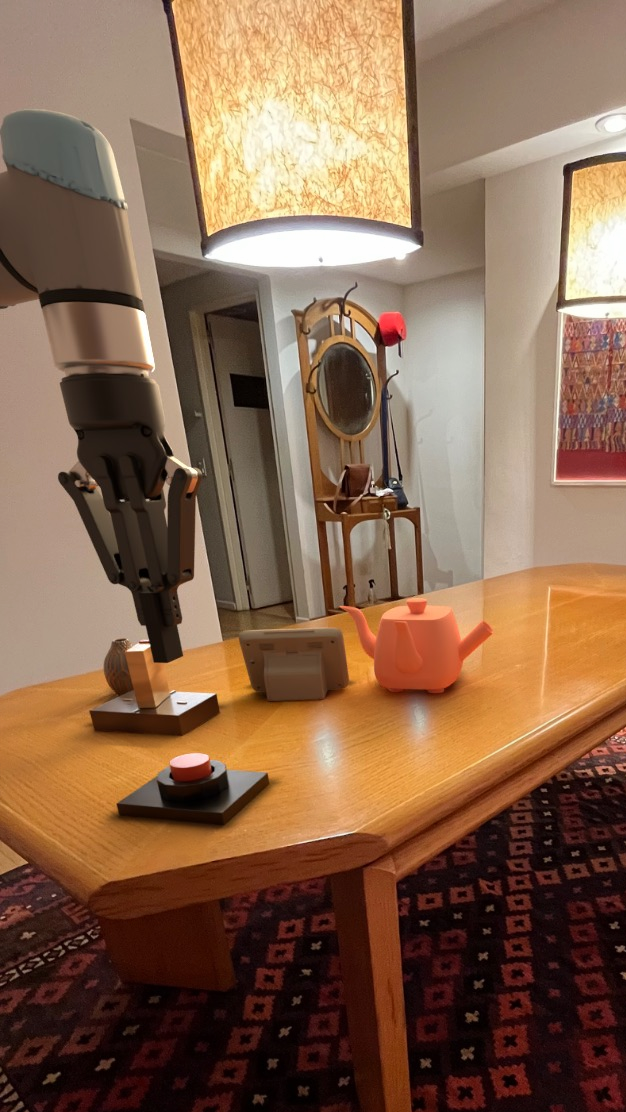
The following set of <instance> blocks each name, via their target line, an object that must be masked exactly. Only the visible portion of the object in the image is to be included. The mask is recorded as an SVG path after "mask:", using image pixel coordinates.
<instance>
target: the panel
mask: <svg viewBox="0 0 626 1112" xmlns="http://www.w3.org/2000/svg"><path fill="white" fill-rule="evenodd" d="M169 691H170V690H169ZM88 712H89V715H90V718H91V722H92V726H93V730H94V731H95V732H97V731H98V732H114V733H128V734H129V733H130V734H147V735H149V734H150V735H162V736H163V735H164V736H177V737H178V736H180V737H184V736H185V735H187V734H188V733H190V732H192V731H193V730H195V729H197V728H198V727H200V726H201V725H202V724H204V723H206V722H208V721H209V720H211V719H212V718H214V717H215V716H218V714H220V713H221V709H220V705H219V698H218V694H217V693H213V692H192V691H177V690H176V689H173V690H171V691H170V695H169V696H168V697H167V698H166V699H165V700H164V701H162V702H161V703H160V704H159V705H158V706H157V707H156V708H138V705H137V701H136V697H135V693H134V690H132V691H130V692H128V693H126V694H123V695H119V696H117V697H115V698H113V699H111V700H108V701H106V702H104V703H102V704H100V705H98V706H96V707H94V708H92V709H89V710H88Z"/></svg>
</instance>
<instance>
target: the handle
mask: <svg viewBox="0 0 626 1112" xmlns="http://www.w3.org/2000/svg"><path fill="white" fill-rule="evenodd" d="M125 655H126V659H127V664H128V668H129V672H130V676H131V680H132V684H133V689H134V693H135V697H136V701H137V705H138V708H156V707H157V706H158V705H159V704H160V703H161V702H162V701H164V700H165V699H166V698H167V697H168V696H169V695H170V687H169V682H168V678H167V673H166V668H165V663H154V661H153V657H152V652H151V648H150V643H149V639H141V640H138V643H136V644H134V645H133V647H131V648H130V649H128V650H127V651H125Z"/></svg>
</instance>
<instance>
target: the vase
mask: <svg viewBox="0 0 626 1112" xmlns="http://www.w3.org/2000/svg"><path fill="white" fill-rule="evenodd" d="M133 646H134V645H133V643H132V642H131V641H130V640H129V639H128V638H126V637H125V638H115V639H112V640H111V643H110V647H109V650H108V651H107V653H106V655H105V657H104V659H103V675H104V678H105V681H106V683H107V685H108V686H109V688H110V689H111V690H112V691H113V692H114V693H115V694H117V695H119V696H121V695H123V694H126V693H128V692H130V691H132V690H134V689H133V684H132V680H131V676H130V672H129V668H128V664H127V659H126V655H125V651H127V650H128V649H130V648H131V647H133Z"/></svg>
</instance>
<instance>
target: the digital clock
mask: <svg viewBox="0 0 626 1112" xmlns="http://www.w3.org/2000/svg"><path fill="white" fill-rule="evenodd" d="M238 642H239V646H240V649H241V654H242V656H243V660H244V664H245V669H246V672H247V675H248V679H249V683H250V687H251V689H252V690H253V691H255V692H258V693H262V692H263V693H265V694H266V699H267V702H288V701H289V702H290V701H312V700H313V701H314V700H315V701H316V700H317V701H319V700H324V699H325V697H326V696H327V693H328V691H329V690H342V689H345V688H347V687H348V686H349V684H350V676H349V669H348V661H347V654H346V648H345V647H346V646H345V639H344V634H343V631H342V630H341V628H338V627H337V628H336V627H307V628H305V627H304V628H275V629H272V628H271V629H249V630H243V631H240V632H239V634H238Z"/></svg>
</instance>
